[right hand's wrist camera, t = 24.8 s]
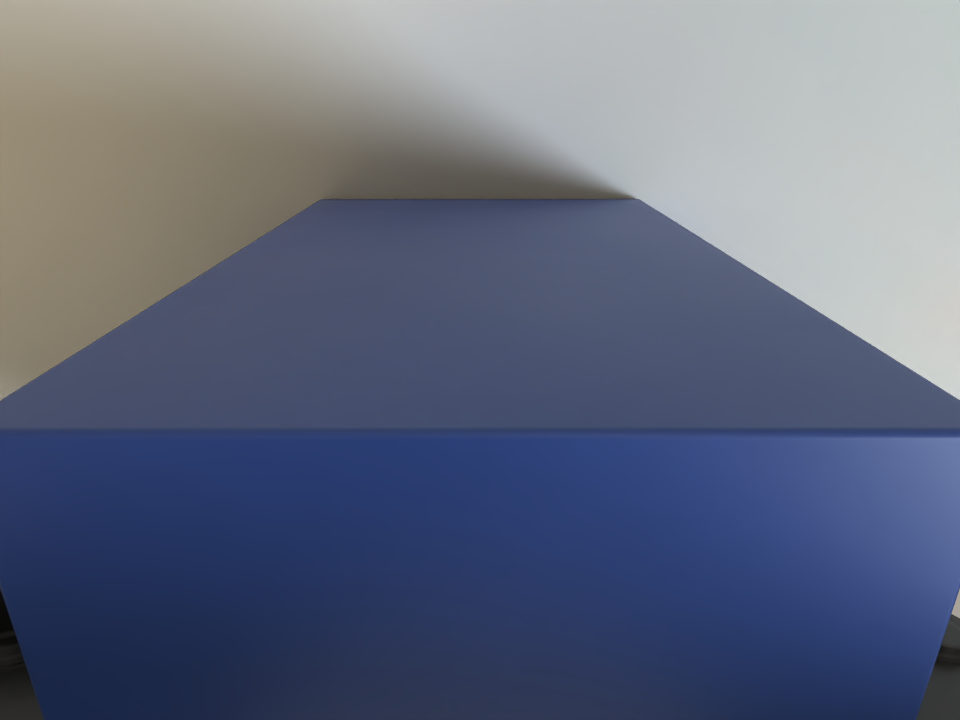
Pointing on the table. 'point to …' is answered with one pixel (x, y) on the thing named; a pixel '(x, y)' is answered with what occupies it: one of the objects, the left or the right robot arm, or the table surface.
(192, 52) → the table surface
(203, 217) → the table surface
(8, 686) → the right robot arm
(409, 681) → the block
